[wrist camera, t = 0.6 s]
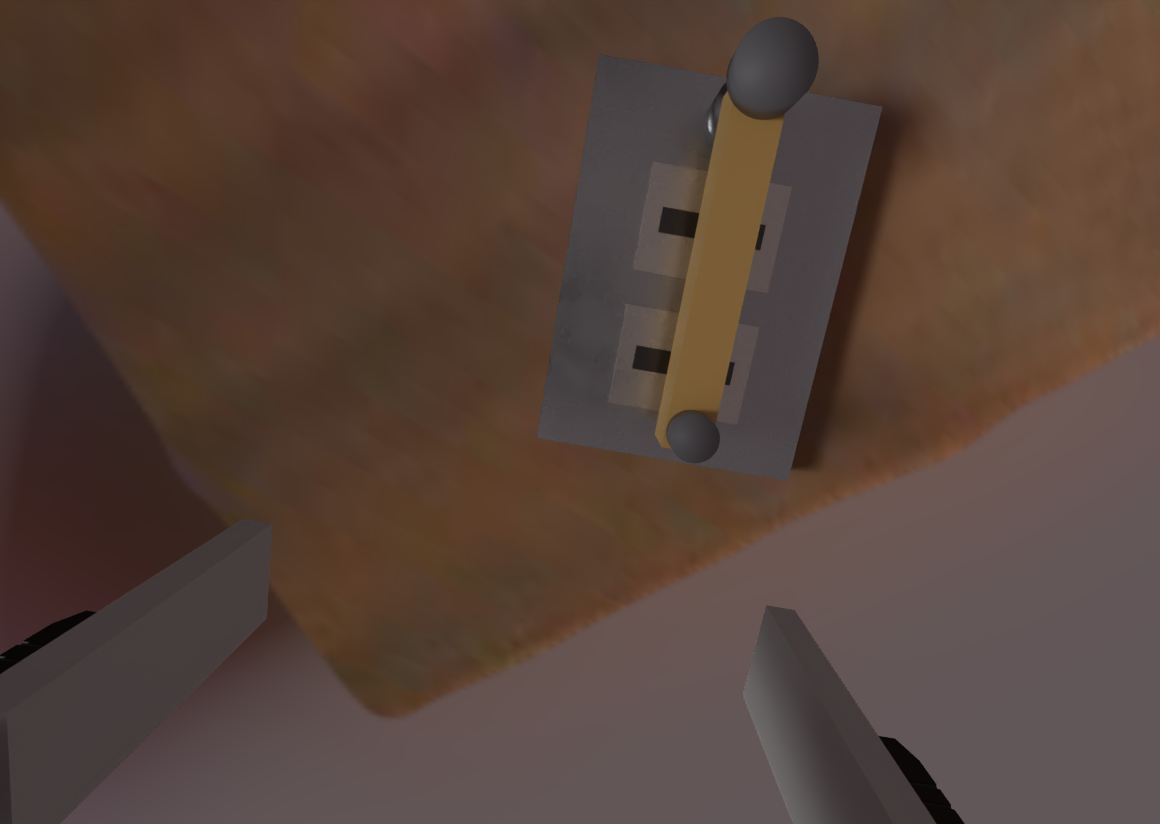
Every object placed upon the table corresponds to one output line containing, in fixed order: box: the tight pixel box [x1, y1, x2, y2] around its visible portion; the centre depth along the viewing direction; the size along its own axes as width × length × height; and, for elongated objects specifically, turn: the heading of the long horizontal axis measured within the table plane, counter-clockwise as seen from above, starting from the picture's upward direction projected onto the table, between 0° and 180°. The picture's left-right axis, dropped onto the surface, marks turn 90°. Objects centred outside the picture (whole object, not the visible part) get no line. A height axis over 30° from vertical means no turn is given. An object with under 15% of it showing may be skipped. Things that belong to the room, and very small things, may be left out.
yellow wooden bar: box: [655, 17, 818, 463], centre depth 27 cm, size 20×4×5 cm, turn 170°
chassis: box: [537, 54, 882, 481], centre depth 32 cm, size 22×16×5 cm
